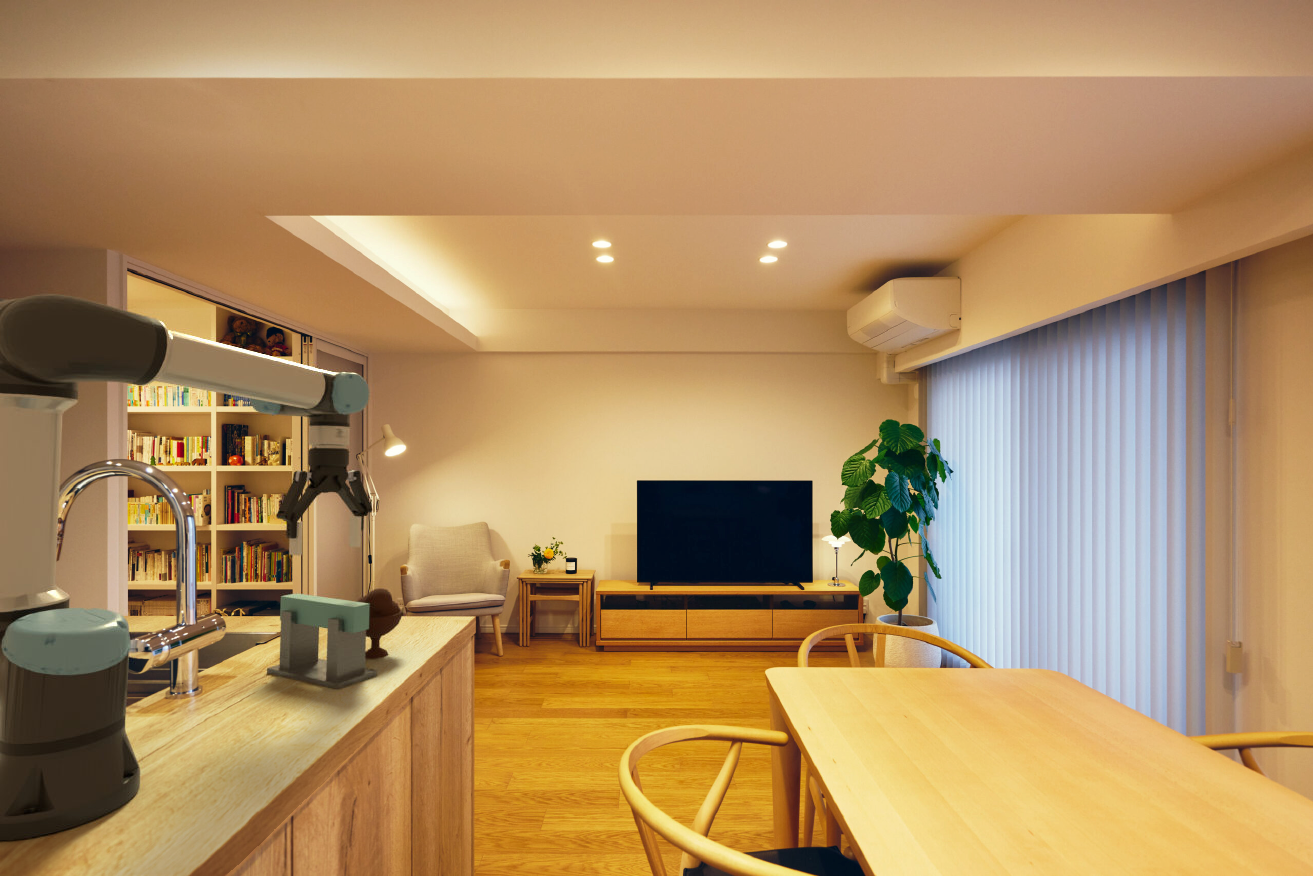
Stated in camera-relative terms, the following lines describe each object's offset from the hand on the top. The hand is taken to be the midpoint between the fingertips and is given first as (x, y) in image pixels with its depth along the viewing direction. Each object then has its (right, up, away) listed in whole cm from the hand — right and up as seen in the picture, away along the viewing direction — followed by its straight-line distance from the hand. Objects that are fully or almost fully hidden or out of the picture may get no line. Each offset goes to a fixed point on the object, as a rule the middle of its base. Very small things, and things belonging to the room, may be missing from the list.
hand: (326, 550), depth 131 cm
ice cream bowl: (+5, -26, +12) cm, 29 cm away
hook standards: (0, -25, -1) cm, 25 cm away
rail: (0, -15, -1) cm, 15 cm away
